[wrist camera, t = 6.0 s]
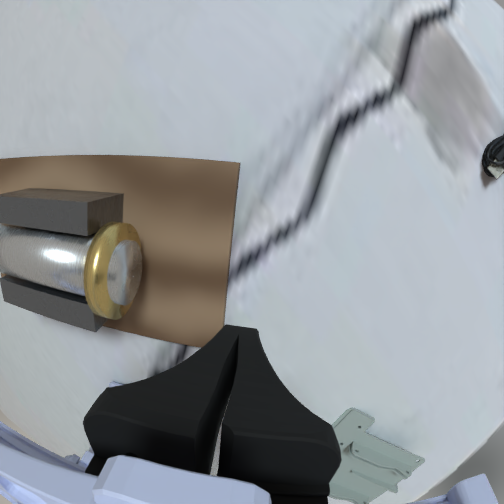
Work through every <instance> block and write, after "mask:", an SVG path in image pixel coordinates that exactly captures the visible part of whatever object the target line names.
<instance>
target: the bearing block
mask: <svg viewBox="0 0 504 504" xmlns="http://www.w3.org/2000/svg"><path fill="white" fill-rule="evenodd" d="M123 200H124V193H112V192H98V191H82V190H64V189H42V188H28V189H23V190H18V191H13V192H8V193H3V194H0V223H3V224H9V225H16V226H23V227H29V228H36V229H43V230H50V231H56V232H63V233H70V234H77V235H84V236H89V235H96V233H97V232H98V230H99V229H100V228H101V227H102V226H103V225H105V224H106V223H108V222H121V223H123ZM0 282H1V288H2V293H3V298H4V301H5V302H8V303H10V304H13V305H16V306H18V307H21V308H23V309H26V310H29V311H32V312H34V313H37V314H40V315H43V316H46V317H49V318H52V319H55V320H58V321H61V322H64V323H67V324H70V325H74V326H77V327H80V328H83V329H87V330H90V331H94V332H96V331H97V330H98V329H99V328H100V327H101V326H102V325H103V324H104V323H105V322H106V321H107V320H108V319H109V318H105V317H101V316H98V315H96V314H94V313H93V312H92V310H91V309H90V307H89V305H88V303H87V300H86V296H82V295H78V294H74V293H70V292H66V291H62V290H58V289H55V288H51V287H47V286H44V285H40V284H37V283H33V282H30V281H26V280H23V279H20V278H17V277H13V276H10V275H6V276H4V277H2V278H0Z"/></svg>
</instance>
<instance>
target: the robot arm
mask: <svg viewBox="0 0 504 504" xmlns="http://www.w3.org/2000/svg"><path fill="white" fill-rule="evenodd" d="M230 394H231V395H230ZM229 397H230V399H229ZM228 400H229V402H228ZM227 404H228V406H227ZM226 407H227V409H226ZM225 410H226V412H225ZM224 413H225V416H224ZM223 416H224V419H223ZM222 419H223V422H222ZM221 422H222V431H221V443H220V455H219V467H218V473H217V476H213V475H210V472H211V467H212V462H213V456H214V451H215V446H216V442H217V437H218V432H219V429H220V425H221ZM83 425H84V430H85V432H86V435H87V437H88V440H89V442H90V445H91V447H90V449H89V451H86V452H85V454H84V455H83V457H82V459H81V460H80V457H79V456H77V455H76V454H73V455H69V456H66V457H65V458H63V457H61V456H59V455H57V454H55V453H53V452H51V451H49V450H47V449H45V448H44V447H42V446H40V445H38V444H36V443H35V442H33V441H31V440H29V439H28V438H26V437H24V436H23V435H21V434H19V433H18V432H16V431H15V430H13V429H11V428H10V427H8V426H7V425H5V424H4V423H2V422H1V421H0V494H1V495H2V496H4V497H5V498H6V499H7V500H9V501H10V502H11V503H13V504H328V498H327V496H329V495H330V485H329V483H330V481H331V480H332V478H333V476H334V475H335V473H336V471H337V470H338V468H339V466H340V464H341V461H342V459H341V450H340V446H339V443H338V440H337V437H336V434H335V432H334V429H333V427H332V425H330V424H329V423H327V422H326V421H324V420H323V419H321V418H319V417H318V416H316V415H315V414H313V413H312V412H311V411H310V410H308V409H307V408H306V407H305V406H303V405H302V404H301V403H300V402H299V401H298V400H297V399H296V398H295V397H294V396H293V395H292V394H291V393H290V392H289V391H288V389H287V388H286V387H285V386H284V384H283V383H282V382H281V380H280V379H279V378H278V376H277V375H276V373H275V371H274V370H273V368H272V366H271V364H270V362H269V361H268V358H267V356H266V354H265V352H264V350H263V347H262V344H261V341H260V338H259V332H258V330H257V329H254V328H247V327H240V326H233V325H225V326H223V327H222V328H221V330H220V331H219V332H218V333H217V334H216V335H215V336H214V337H213V338H212V339H211V340H210V341H209V342H208V343H207V344H205V345H204V346H203V347H202V348H201V349H200V350H198V351H197V352H196V353H194V354H193V355H192V356H190V357H189V358H188V359H186V360H185V361H183V362H182V363H180V364H178V365H177V366H175V367H173V368H171V369H169V370H167V371H165V372H162V373H160V374H158V375H156V376H153V377H150V378H147V379H144V380H141V381H137V382H134V383H130V384H125V385H122V384H119V383H116V382H111V383H110V384H109V387H108V388H106V389H105V391H104V392H103V393H102V394H101V395H100V396H99V397H98V398H97V400H96V401H95V402H94V404H93V405H92V407H91V408H90V410H89V411H88V413H87V414H86V416H85V417H84V421H83ZM79 460H80V461H79ZM407 504H498V502H497V499H496V497H495V495H494V492H493V490H492V488H491V486H490V484H489V482H488V480H487V477H486V475H485V474H480V475H477V476H474V477H471V478H468V479H465V480H462V481H460V482H458V483H457V484H455V485H454V486H453V487H452V488H451V489H450V490H449V491H448V493H447V494H445V495H441V496H437V497H433V498H429V499H425V500H421V501H416V502H412V503H407Z"/></svg>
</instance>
